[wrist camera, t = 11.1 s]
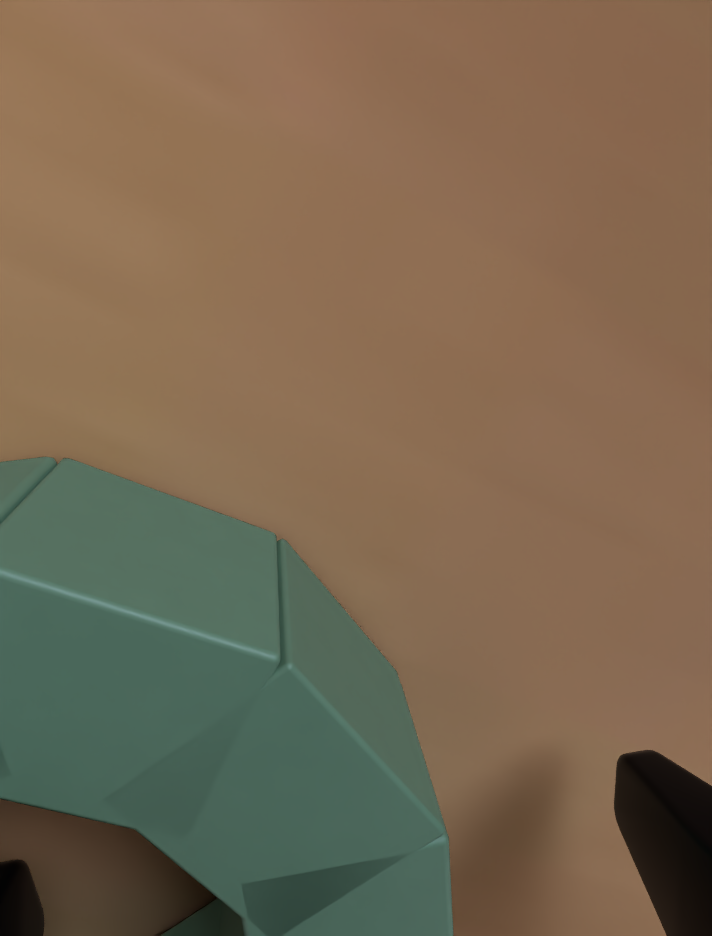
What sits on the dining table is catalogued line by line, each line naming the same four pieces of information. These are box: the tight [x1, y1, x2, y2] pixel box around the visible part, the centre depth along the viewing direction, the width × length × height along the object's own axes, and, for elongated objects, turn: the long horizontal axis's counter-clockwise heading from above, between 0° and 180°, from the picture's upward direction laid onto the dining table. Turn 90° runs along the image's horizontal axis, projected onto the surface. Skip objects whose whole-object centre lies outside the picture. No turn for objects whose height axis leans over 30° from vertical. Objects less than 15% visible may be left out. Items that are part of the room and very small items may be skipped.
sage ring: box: [0, 457, 453, 936], centre depth 7 cm, size 9×9×2 cm
